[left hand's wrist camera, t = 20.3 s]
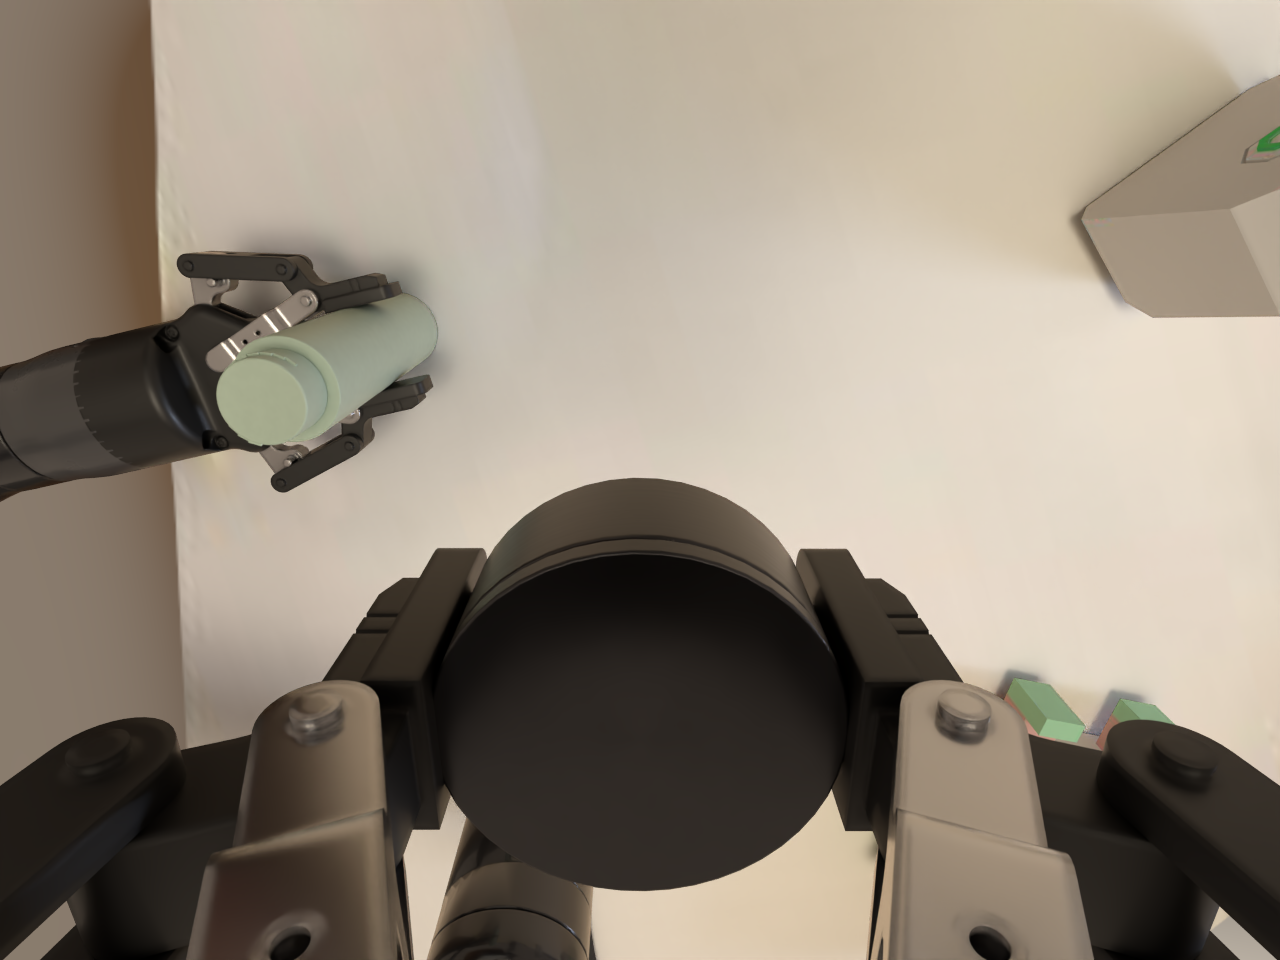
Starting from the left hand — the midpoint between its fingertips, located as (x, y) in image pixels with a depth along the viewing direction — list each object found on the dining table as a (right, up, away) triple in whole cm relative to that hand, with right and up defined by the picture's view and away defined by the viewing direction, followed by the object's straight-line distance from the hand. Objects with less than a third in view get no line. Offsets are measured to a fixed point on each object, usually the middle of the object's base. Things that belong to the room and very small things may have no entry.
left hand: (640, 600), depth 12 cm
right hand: (-13, +10, +28) cm, 32 cm away
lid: (0, -1, -3) cm, 3 cm away
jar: (-15, +12, +34) cm, 39 cm away
